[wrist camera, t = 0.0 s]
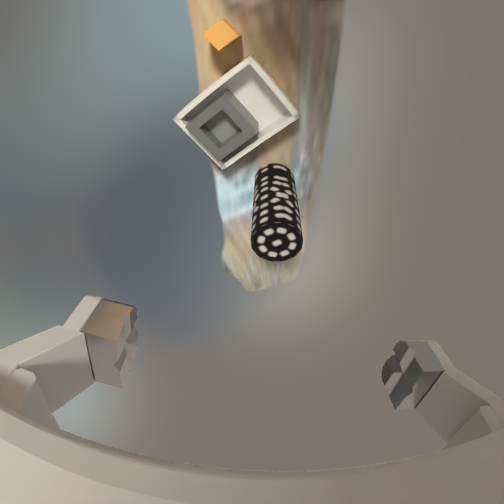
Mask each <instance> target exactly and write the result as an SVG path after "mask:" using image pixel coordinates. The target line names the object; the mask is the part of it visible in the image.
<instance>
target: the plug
mask: <svg viewBox="0 0 504 504" xmlns="http://www.w3.org/2000/svg"><path fill="white" fill-rule="evenodd" d="M202 35H203V36H204V37H205V38H206V39H207V40H208V41H209V42H210V43H211V44H212V45H213V46H214V47H215V48H216V49H217V50H218V51H219V50H221V49H223V48H225V47H226V46H227V45H229V44H230V43H231V42H233V41H234V40H235V39H237V38H238V37H240V36H241V34H240V33H239V32H238V31H237V30H236V29H235V28H234V27H233V25H232V24H231V23H230V22H229V21H228V20H225V19H221V20H219V21H218V22H217V23H215V24H214V25H213V26H212V27H210V28H209V29H208V30H206V31H205V32H204V33H203V34H202Z"/></svg>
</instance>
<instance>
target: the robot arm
mask: <svg viewBox="0 0 504 504" xmlns="http://www.w3.org/2000/svg"><path fill="white" fill-rule="evenodd" d="M136 320H137V308H136V306H134V305H130V304H126V303H122V302H118V301H113V300H109V299H106V298H101V297H98V296H94V295H90V294H89V295H86V296H85V297H84V298H83V300H82V301H81V302H80V304H79V305H78V306H77V308H76V309H75V310H74V312H73V313H72V314H71V316H70V317H69V318H68V320H67V321H66V323H65V324H64V325H63V327H62V326H59V325H58V326H55V327H53V328H50V329H48V330H46V331H43V332H41V333H39V334H36V335H34V336H32V337H29V338H27V339H24V340H22V341H20V342H17V343H15V344H13V345H11V346H8V347H6V348H3V349H1V350H0V504H504V402H503V401H502V399H500V398H499V397H497V396H496V395H494V394H493V393H492V392H490V391H489V390H487V389H486V388H484V387H482V386H481V385H480V384H478V383H477V382H476V381H474V380H472V379H471V378H470V377H468V376H467V375H465V374H464V373H462V372H461V371H459V370H456V369H455V368H454V366H453V365H452V363H451V362H450V360H449V359H448V357H447V356H446V355H445V353H444V352H443V350H442V349H441V347H440V346H439V345H438V343H437V342H435V341H402V340H400V341H399V342H398V343H396V345H395V347H394V348H393V355H392V356H391V357H390V358H388V359H387V360H386V362H385V364H384V366H383V369H382V381H383V383H384V385H385V386H386V387H387V388H388V389H389V390H390V394H389V397H390V399H391V402H392V404H393V406H394V409H395V410H406V409H414V410H415V411H416V412H417V413H418V414H419V415H420V416H421V417H422V418H423V419H424V420H425V421H426V422H427V423H428V424H429V425H430V427H431V428H432V429H434V431H436V432H437V434H438V435H439V436H441V437H442V439H443V440H444V441H445V442H446V444H444V445H443V446H442V447H441V448H440V449H439V451H436V452H432V453H428V454H424V455H420V456H416V457H411V458H406V459H402V460H397V461H392V462H386V463H380V464H373V465H366V466H359V467H351V468H341V469H330V470H315V471H251V470H236V469H224V468H215V467H206V466H199V465H192V464H185V463H179V462H174V461H168V460H162V459H158V458H153V457H149V456H144V455H140V454H136V453H132V452H128V451H124V450H121V449H117V448H114V447H110V446H107V445H103V444H100V443H97V442H94V441H91V440H88V439H85V438H82V437H79V436H77V435H74V434H71V433H68V432H66V431H63V430H61V429H60V428H59V425H58V424H57V422H56V420H55V418H54V416H53V414H52V413H53V412H55V411H56V410H57V409H59V408H60V407H62V406H63V405H64V404H65V403H67V402H68V401H70V400H71V399H73V398H74V397H75V396H77V395H78V394H79V393H81V392H82V391H83V390H85V389H86V388H88V387H89V386H90V385H92V384H93V383H94V381H97V382H101V383H105V384H108V385H113V386H117V387H123V384H124V381H125V379H126V376H127V374H128V363H129V362H130V361H132V360H133V358H134V355H135V352H136V347H137V340H138V330H137V328H136V327H135V326H134V324H135V322H136Z"/></svg>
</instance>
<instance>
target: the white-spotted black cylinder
mask: <svg viewBox="0 0 504 504" xmlns="http://www.w3.org/2000/svg"><path fill="white" fill-rule="evenodd" d="M302 245H303V237H302V229H301V222H300V214H299V207H298V200H297V194H296V187H295V181H294V175H293V173H292V172H291V170H290V169H289V168H287V167H286V166H284V165H282V164H277V163H272V164H268V165H265V166H263V167H262V168H261V169H260V170H259V171H258V172H257V174H256V176H255V187H254V202H253V216H252V231H251V246H252V249H253V251H254V252H255V253H256V254H257V255H258V256H259V257H261V258H263V259H265V260H269V261H285V260H288V259H290V258H292V257H294V256H295V255H297V254H298V253H299V251H300V250H301V248H302Z"/></svg>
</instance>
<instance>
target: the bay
mask: <svg viewBox="0 0 504 504" xmlns="http://www.w3.org/2000/svg"><path fill="white" fill-rule="evenodd" d="M300 117H301V116H300V114H299V111H298V109H297V108H296V107H295V105H294V104H293V103H292V102H291V100H290V99H289V98H288V96H287V95H286V94H285V93H284V91H283V90H282V89H281V88H280V87H279V85H278V84H277V83H276V82H275V80H274V79H273V78H272V77H271V76H270V75H269V73H268V72H267V71H266V70H265V69H264V68H263V66H262V65H261V64H260V63H259V62H258V61H257V60H256V58H255V57H254V56H253V55H252V54H251V55H249V56H248V57H246V58H245V59H244V60H242V61H241V62H240V63H238V64H237V65H236V66H234V67H233V68H232V69H230V70H229V71H228V72H226V73H225V74H224V75H223V76H221V77H220V78H219V79H218V80H216V81H215V82H214V83H213V84H211V85H210V86H209V87H208V88H206V89H205V90H204V91H203V92H202V93H200V94H199V95H198V96H197V97H196V98H195V99H193V100H192V101H191V102H190V103H189V104H188V105H187V106H185V107H184V108H183V109H182V110H181V111H180V112H179V113H178V114H177V115H176V116H175V117H174V118H173V120H174V121H175V122H176V123H177V124H178V125H179V126H180V127H181V128H182V129H183V130H184V131H185V132H186V133H187V134H188V135H189V136H190V137H191V138H192V139H193V140H194V141H195V142H196V143H197V144H198V145H199V146H200V147H201V148H202V149H203V150H204V151H205V152H206V154H207V155H208V156H209V157H210V158H211V159H212V160H213V161H214V162H215V163H216V164H217V165H218V166H219V167H220V168H221V169H222V170H224V169H226V168H227V167H228V166H230V165H231V164H233V163H234V162H235V161H237V160H238V159H240V158H241V157H242V156H244V155H245V154H247V153H248V152H249V151H251V150H252V149H254V148H255V147H257V146H258V145H259V144H261V143H262V142H264V141H265V140H267V139H268V138H270V137H271V136H273V135H274V134H276V133H277V132H279V131H280V130H282V129H283V128H285V127H286V126H288V125H289V124H291V123H292V122H294V121H295V120H297V119H298V118H300Z"/></svg>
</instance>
